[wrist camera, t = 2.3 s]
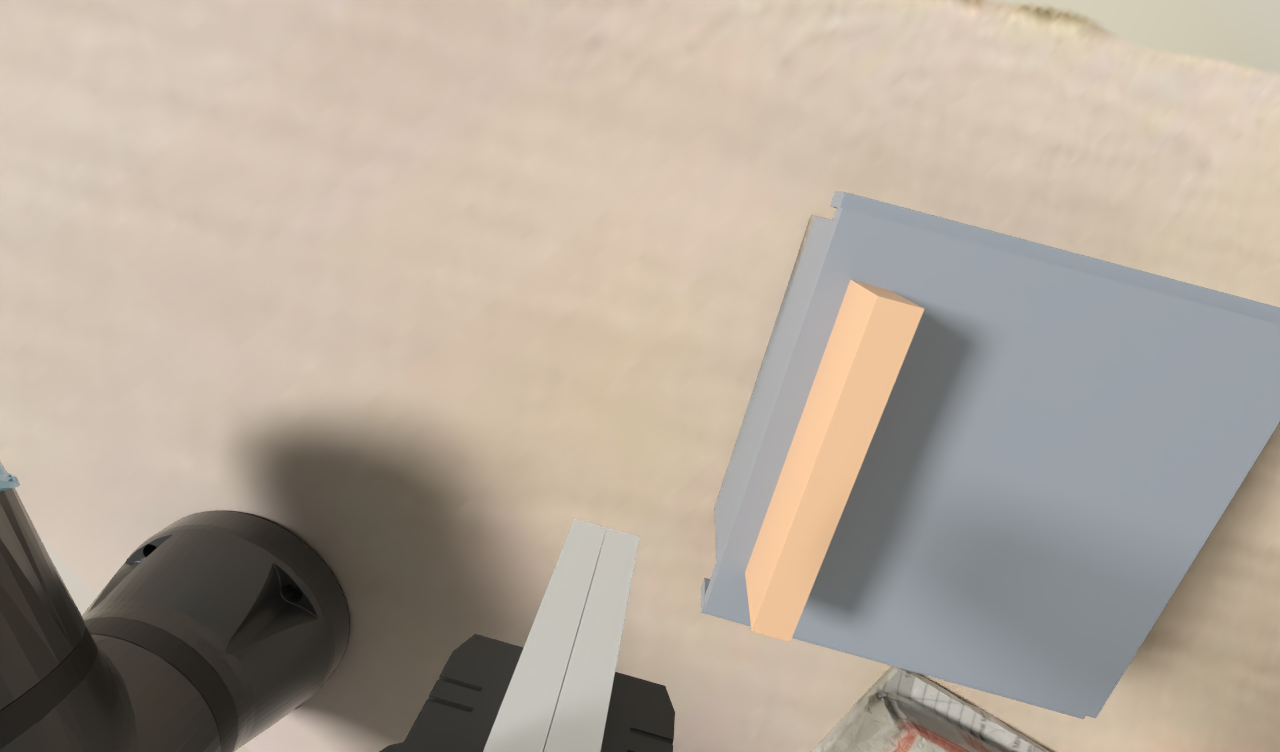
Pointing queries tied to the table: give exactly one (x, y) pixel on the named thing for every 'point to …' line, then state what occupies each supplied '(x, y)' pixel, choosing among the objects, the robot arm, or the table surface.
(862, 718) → the packaged product
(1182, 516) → the lid
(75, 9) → the table surface
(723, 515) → the open gray box
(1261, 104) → the table surface
